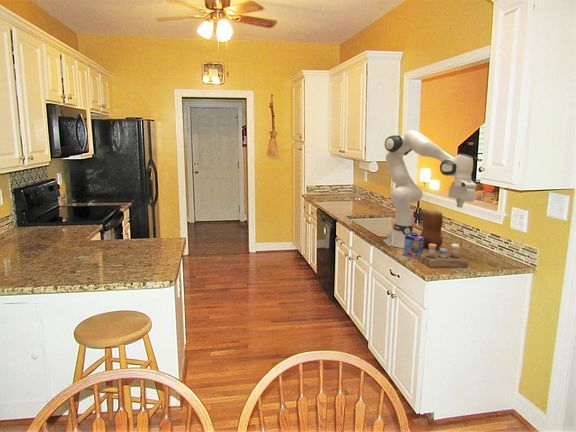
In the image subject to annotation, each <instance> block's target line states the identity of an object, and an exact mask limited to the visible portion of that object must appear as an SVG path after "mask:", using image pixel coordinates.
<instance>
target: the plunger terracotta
mask: <svg viewBox="0 0 576 432" xmlns="http://www.w3.org/2000/svg"><path fill="white" fill-rule="evenodd" d="M436 249H437V248H436V244H432V243H430V244H429V248H428V253H427V254H428V257H434V256H435V254H436Z"/></svg>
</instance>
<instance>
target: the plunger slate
mask: <svg viewBox="0 0 576 432" xmlns="http://www.w3.org/2000/svg"><path fill="white" fill-rule="evenodd" d="M439 254H440V258H446V254H448V248H444V247H439Z"/></svg>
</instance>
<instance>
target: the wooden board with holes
mask: <svg viewBox="0 0 576 432" xmlns="http://www.w3.org/2000/svg"><path fill="white" fill-rule="evenodd" d="M428 254H429V253H423V254H418V258H417V262H420V263H422V264H423V265H424V266H427V267H428V268H430V269H438V268H439V269H441V268H442V269H446V268H448V269H449V268H451V269H453V268H455V267H467V268H468V263H469V260H468V259H465V258H463V257H461V256H459V255H457V257H451V253H446V258H440V253H435V256H434V257H428Z"/></svg>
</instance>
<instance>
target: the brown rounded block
mask: <svg viewBox="0 0 576 432" xmlns="http://www.w3.org/2000/svg"><path fill="white" fill-rule="evenodd" d="M443 219H444V217H443V213H442V211H439V210H434V209H427V210H425V212H424V215H423V222H422V230H421V233H420V235H419V236H421V237H424V244H423V247H424V248H428V249H429V244H430V243H432V244H436V249H437V248H438V249H439V248H441V246H442V245H443V240H444V239H443V238H444V237H443V235H442V226H443V223H444V220H443Z"/></svg>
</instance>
